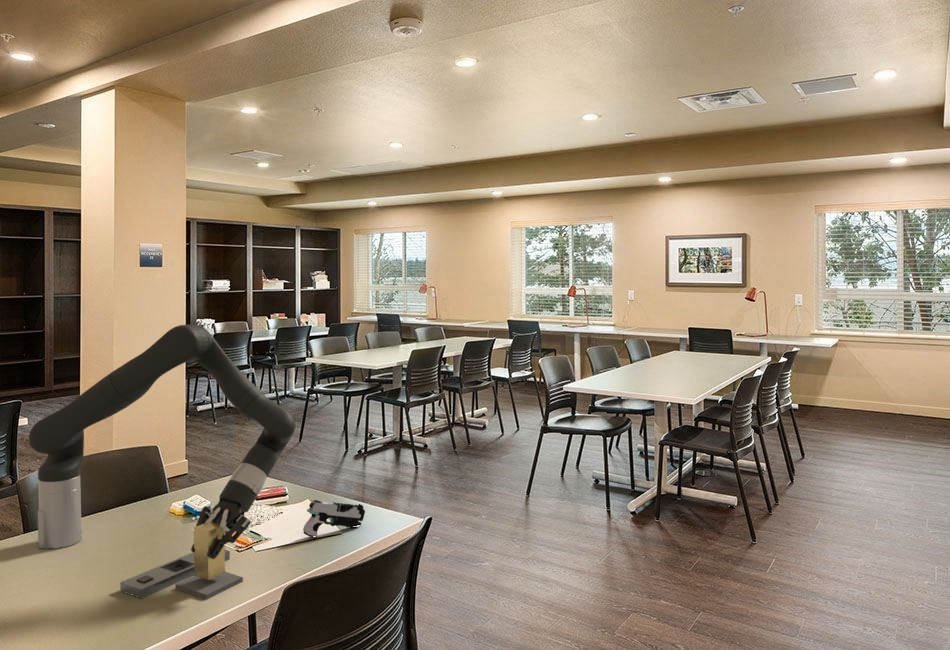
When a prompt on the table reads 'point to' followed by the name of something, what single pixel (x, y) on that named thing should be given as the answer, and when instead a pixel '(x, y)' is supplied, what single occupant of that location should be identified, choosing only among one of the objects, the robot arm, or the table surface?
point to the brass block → (202, 545)
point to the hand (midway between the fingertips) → (202, 554)
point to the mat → (208, 585)
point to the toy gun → (332, 515)
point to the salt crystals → (259, 513)
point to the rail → (161, 576)
